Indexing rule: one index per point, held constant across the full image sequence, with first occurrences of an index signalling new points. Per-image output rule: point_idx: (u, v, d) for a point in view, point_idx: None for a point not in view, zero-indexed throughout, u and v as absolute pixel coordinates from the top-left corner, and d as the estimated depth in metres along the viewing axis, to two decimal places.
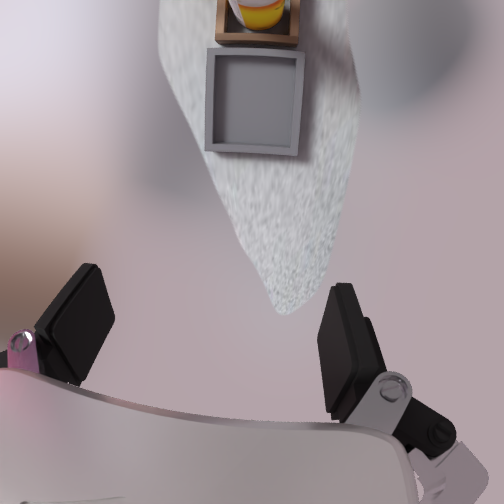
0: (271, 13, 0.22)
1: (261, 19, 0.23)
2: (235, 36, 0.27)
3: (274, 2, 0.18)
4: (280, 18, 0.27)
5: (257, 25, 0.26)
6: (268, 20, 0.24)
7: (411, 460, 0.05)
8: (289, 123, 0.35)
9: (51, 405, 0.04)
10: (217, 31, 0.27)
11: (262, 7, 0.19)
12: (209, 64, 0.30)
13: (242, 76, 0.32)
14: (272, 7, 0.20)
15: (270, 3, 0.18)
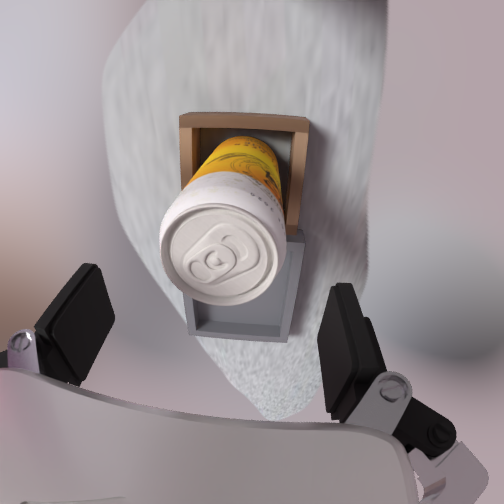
0: None
1: None
2: None
3: None
4: None
5: None
6: None
7: (411, 460, 0.05)
8: (280, 307, 0.33)
9: (51, 405, 0.04)
10: None
11: None
12: None
13: None
14: None
15: None
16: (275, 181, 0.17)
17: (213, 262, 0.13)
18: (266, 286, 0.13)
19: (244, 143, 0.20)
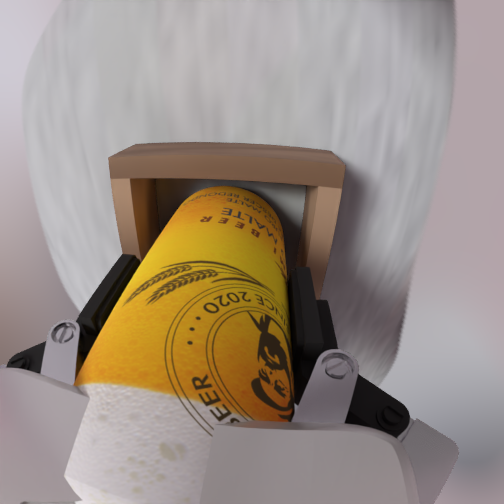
0: None
1: None
2: None
3: None
4: None
5: None
6: None
7: None
8: None
9: (51, 405, 0.04)
10: None
11: None
12: None
13: None
14: None
15: None
16: (280, 336, 0.07)
17: None
18: None
19: (220, 214, 0.11)
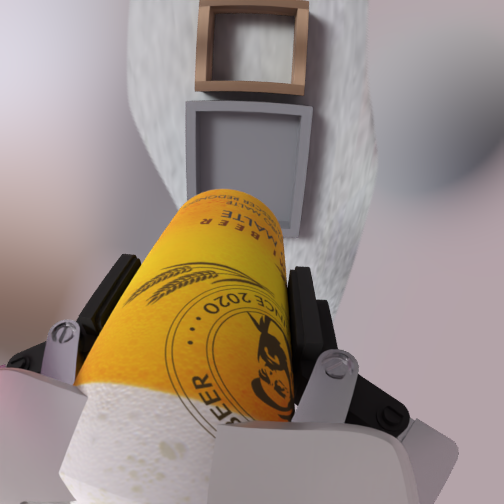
0: None
1: None
2: (221, 85, 0.23)
3: None
4: None
5: None
6: None
7: None
8: (290, 195, 0.31)
9: (51, 405, 0.04)
10: (197, 78, 0.23)
11: None
12: (189, 124, 0.25)
13: (232, 136, 0.28)
14: None
15: None
16: (280, 337, 0.07)
17: None
18: None
19: (220, 217, 0.11)
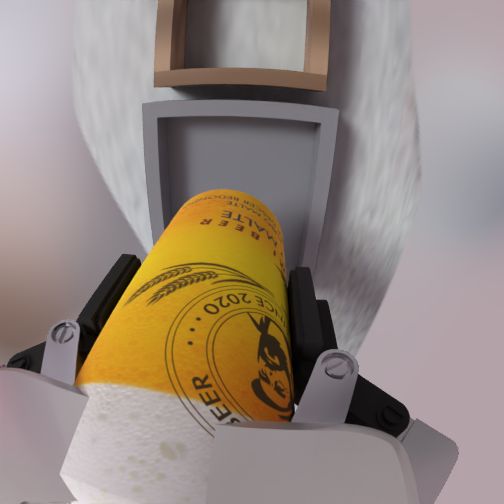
0: None
1: None
2: (194, 76, 0.14)
3: None
4: None
5: None
6: None
7: None
8: (299, 238, 0.22)
9: (51, 405, 0.04)
10: (158, 67, 0.14)
11: None
12: (148, 138, 0.16)
13: (214, 153, 0.19)
14: None
15: None
16: (280, 337, 0.07)
17: None
18: None
19: (220, 217, 0.11)
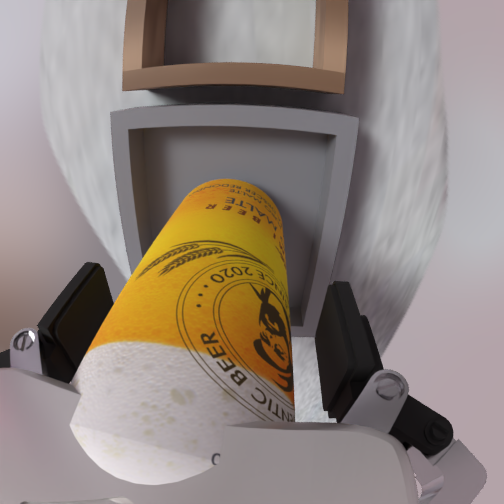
0: None
1: None
2: (171, 75, 0.10)
3: None
4: None
5: None
6: None
7: None
8: (304, 271, 0.18)
9: (51, 405, 0.04)
10: (127, 66, 0.10)
11: None
12: (118, 155, 0.13)
13: (201, 171, 0.15)
14: None
15: None
16: (279, 308, 0.08)
17: None
18: None
19: (224, 202, 0.12)
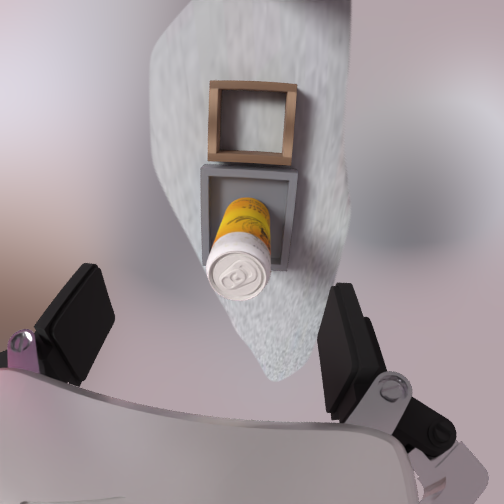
0: None
1: None
2: (228, 157, 0.33)
3: None
4: None
5: None
6: None
7: (411, 460, 0.05)
8: (280, 238, 0.40)
9: (51, 405, 0.04)
10: (209, 151, 0.33)
11: None
12: (203, 185, 0.35)
13: (236, 194, 0.38)
14: None
15: None
16: (266, 233, 0.30)
17: (235, 278, 0.26)
18: (260, 290, 0.27)
19: (248, 206, 0.34)
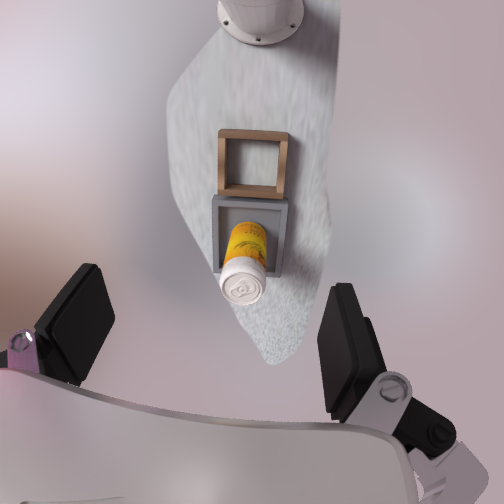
0: None
1: None
2: (233, 193, 0.43)
3: None
4: None
5: None
6: None
7: (411, 460, 0.05)
8: (275, 252, 0.51)
9: (51, 405, 0.04)
10: (219, 187, 0.43)
11: None
12: (214, 213, 0.46)
13: (239, 218, 0.48)
14: None
15: None
16: (263, 254, 0.41)
17: (240, 290, 0.37)
18: (258, 298, 0.38)
19: (249, 231, 0.45)
